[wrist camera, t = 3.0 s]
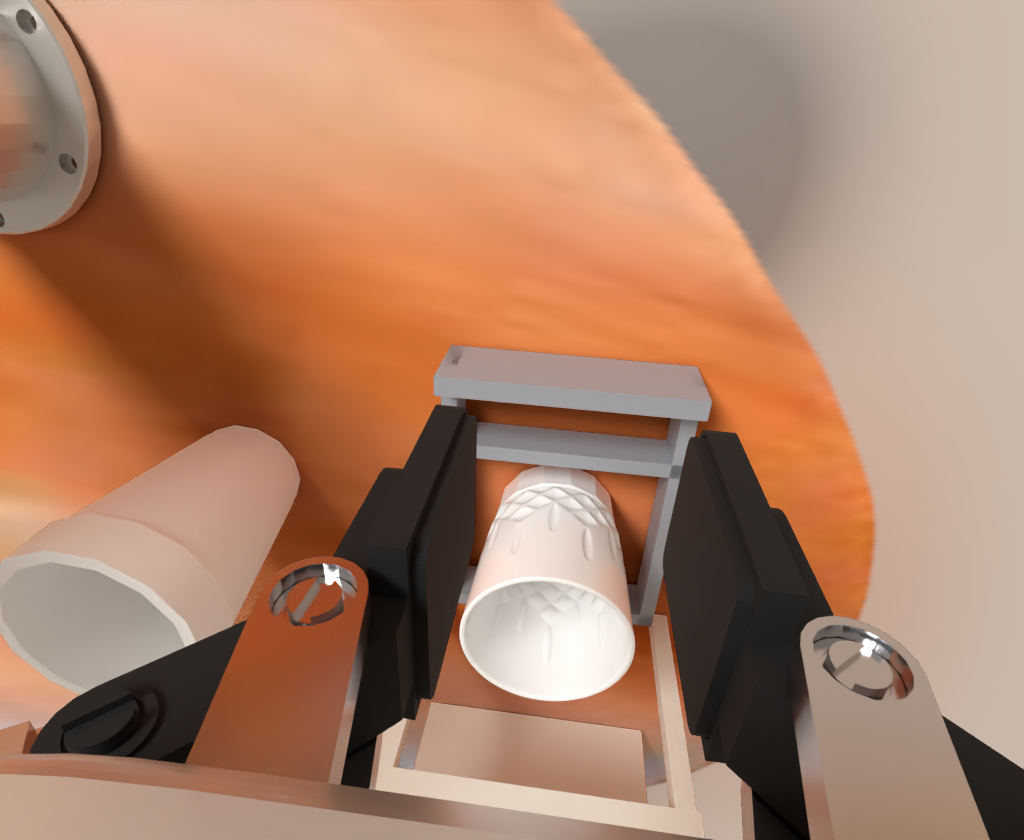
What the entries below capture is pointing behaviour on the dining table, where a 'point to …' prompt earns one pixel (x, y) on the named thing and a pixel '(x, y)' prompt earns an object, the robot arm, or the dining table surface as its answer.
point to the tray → (594, 390)
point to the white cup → (550, 591)
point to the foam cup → (148, 561)
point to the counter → (551, 760)
